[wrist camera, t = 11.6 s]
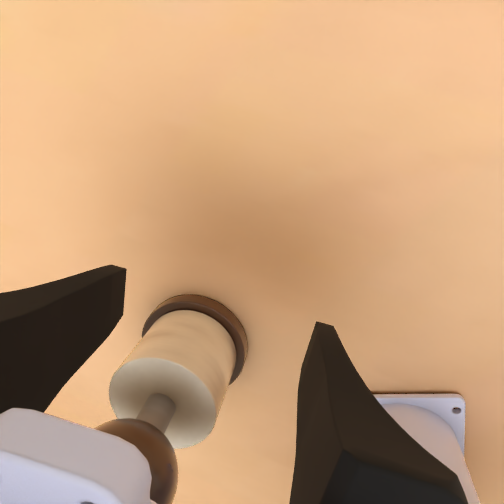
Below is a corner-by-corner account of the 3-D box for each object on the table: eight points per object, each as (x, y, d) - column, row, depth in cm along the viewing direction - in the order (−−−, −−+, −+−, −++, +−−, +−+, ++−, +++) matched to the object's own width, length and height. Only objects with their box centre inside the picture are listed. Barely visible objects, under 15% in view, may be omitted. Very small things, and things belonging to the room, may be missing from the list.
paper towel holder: (236, 395, 27) (166, 621, 15) (142, 367, 28) (5, 563, 16) (257, 311, 24) (193, 505, 13) (153, 282, 25) (-2, 440, 13)
